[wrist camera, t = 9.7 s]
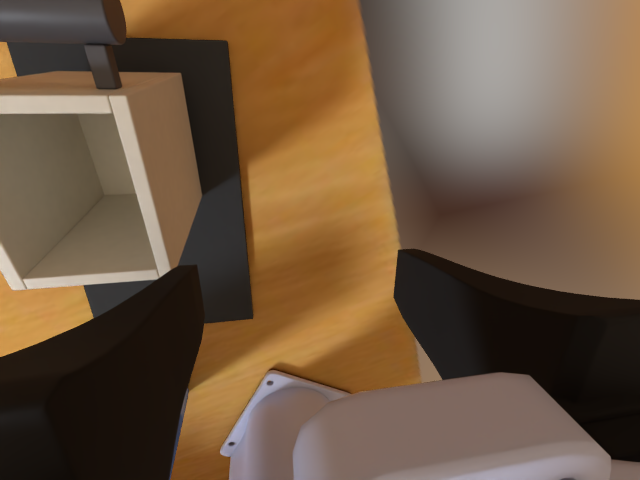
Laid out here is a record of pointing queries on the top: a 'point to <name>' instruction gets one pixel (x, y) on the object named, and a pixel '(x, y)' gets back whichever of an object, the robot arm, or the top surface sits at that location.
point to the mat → (211, 157)
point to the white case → (90, 157)
